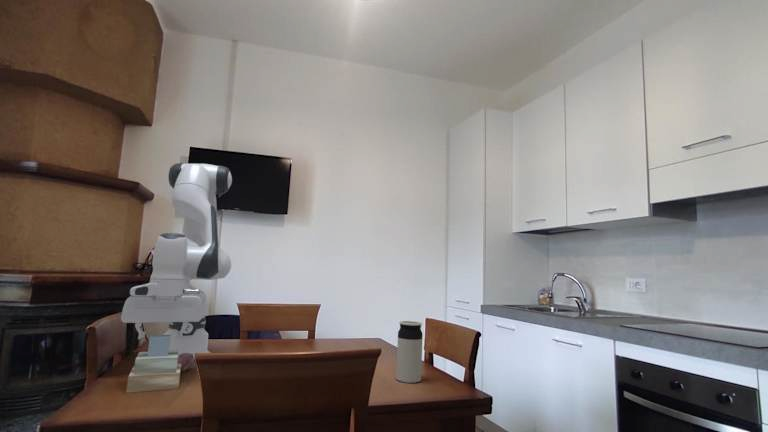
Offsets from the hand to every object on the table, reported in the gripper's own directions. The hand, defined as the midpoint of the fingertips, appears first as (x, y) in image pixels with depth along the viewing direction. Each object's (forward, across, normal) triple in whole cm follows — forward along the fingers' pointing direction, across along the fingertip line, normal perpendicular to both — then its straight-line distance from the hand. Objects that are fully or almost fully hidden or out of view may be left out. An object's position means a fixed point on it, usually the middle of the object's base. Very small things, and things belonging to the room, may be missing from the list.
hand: (160, 338), depth 111 cm
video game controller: (+13, -6, -12) cm, 18 cm away
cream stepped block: (+12, 0, +1) cm, 12 cm away
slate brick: (+4, 0, 0) cm, 4 cm away
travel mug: (+12, -72, +18) cm, 75 cm away
